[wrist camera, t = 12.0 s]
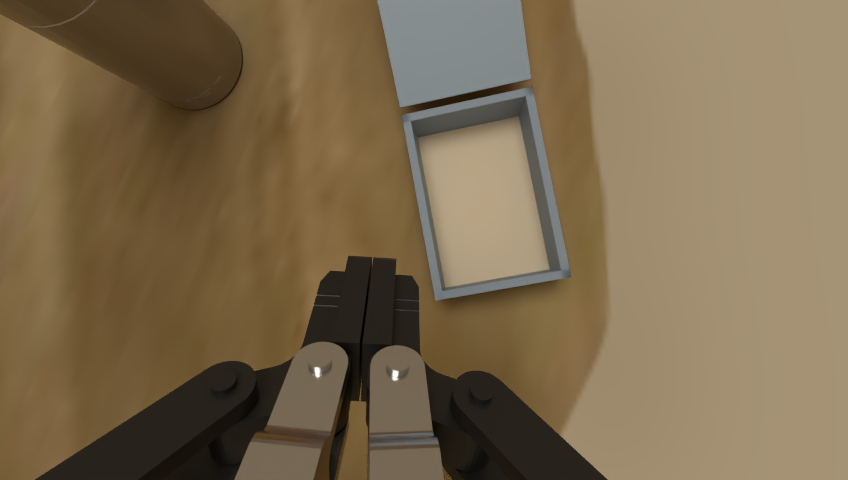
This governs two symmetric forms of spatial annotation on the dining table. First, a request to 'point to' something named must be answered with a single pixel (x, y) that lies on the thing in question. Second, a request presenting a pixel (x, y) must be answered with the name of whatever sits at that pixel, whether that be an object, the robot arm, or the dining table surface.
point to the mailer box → (485, 195)
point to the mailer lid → (453, 46)
